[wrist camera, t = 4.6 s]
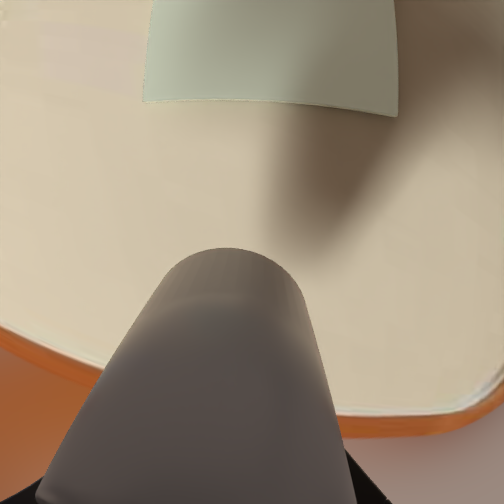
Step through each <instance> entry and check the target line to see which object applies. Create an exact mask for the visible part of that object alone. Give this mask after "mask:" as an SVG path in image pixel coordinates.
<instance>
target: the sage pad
mask: <svg viewBox="0 0 504 504" xmlns="http://www.w3.org/2000/svg"><path fill="white" fill-rule="evenodd" d="M208 100H229V101H263V102H280V103H293V104H305V105H315V106H324V107H332V108H340V109H347V110H354V111H360V112H366V113H372V114H378V115H383V116H389V117H398V49H397V31H396V19H395V8H394V0H153V6H152V13H151V20H150V27H149V35H148V43H147V53H146V63H145V74H144V87H143V102H145V103H158V102H175V101H208Z"/></svg>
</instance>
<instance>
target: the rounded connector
mask: <svg viewBox="0 0 504 504" xmlns="http://www.w3.org/2000/svg"><path fill="white" fill-rule="evenodd" d="M35 497H36V501H37V503H38V504H357V501H356V497H355V492H354V488H353V483H352V479H351V474H350V470H349V466H348V462H347V457H346V453H345V449H344V446H343V441H342V437H341V433H340V429H339V425H338V421H337V417H336V413H335V409H334V405H333V401H332V397H331V393H330V390H329V386H328V382H327V378H326V375H325V371H324V367H323V363H322V360H321V356H320V352H319V349H318V345H317V342H316V338H315V335H314V331H313V328H312V324H311V320H310V317H309V314H308V310H307V307H306V303H305V300H304V297H303V295H302V292H301V290H300V288H299V287H298V285H297V283H296V282H295V281H294V279H293V278H292V277H291V276H290V274H289V273H287V272H286V271H285V270H284V269H283V268H282V267H281V266H279V265H278V264H277V263H275V262H274V261H272V260H270V259H268V258H266V257H265V256H262V255H260V254H257V253H254V252H251V251H247V250H243V249H235V248H216V249H210V250H205V251H202V252H198V253H196V254H193V255H191V256H189V257H187V258H185V259H184V260H182V261H180V262H179V263H178V264H176V265H175V266H174V267H173V268H172V269H171V270H170V271H169V272H168V273H167V274H166V276H165V277H164V278H163V280H162V281H161V283H160V284H159V286H158V287H157V289H156V290H155V292H154V293H153V295H152V296H151V298H150V299H149V301H148V302H147V304H146V305H145V307H144V308H143V310H142V311H141V313H140V314H139V316H138V317H137V319H136V320H135V322H134V323H133V325H132V326H131V328H130V329H129V331H128V332H127V334H126V336H125V337H124V339H123V340H122V342H121V343H120V345H119V347H118V348H117V350H116V351H115V353H114V354H113V356H112V358H111V359H110V361H109V363H108V364H107V366H106V367H105V369H104V371H103V372H102V374H101V376H100V377H99V379H98V380H97V382H96V384H95V385H94V387H93V389H92V390H91V392H90V394H89V396H88V397H87V399H86V401H85V402H84V404H83V406H82V407H81V409H80V411H79V413H78V415H77V416H76V418H75V420H74V422H73V423H72V425H71V427H70V429H69V430H68V432H67V434H66V436H65V438H64V439H63V441H62V443H61V445H60V447H59V449H58V450H57V452H56V454H55V456H54V458H53V460H52V462H51V464H50V465H49V467H48V469H47V471H46V473H45V475H44V477H43V479H42V481H41V483H40V485H39V487H38V489H37V491H36V494H35Z"/></svg>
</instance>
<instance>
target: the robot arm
mask: <svg viewBox="0 0 504 504" xmlns="http://www.w3.org/2000/svg"><path fill="white" fill-rule="evenodd" d="M344 449H345V448H344ZM345 453H346V457H347V462H348V466H349V470H350V474H351V479H352V483H353V488H354V492H355V497H356V501H357V504H392V503H391V502H390V500H386V499H387V497H386V496H385V495H384V494H383V493H382V492H381V490H380V489H379V488H378V487H377V486H376V485H375V484H374V483H373V481H372V480H371V479H370V478H369V477H368V476H367V474H366V473H365V472H364V471H363V470H362V469H361V467H360V466H359V465H358V464H357V463H356V461H355V460H354V459H353V458H352V457H351V456H350V455H349V453H348V452H347V451H346V450H345ZM43 477H44V476H43ZM43 477H41V478H40V479H39V480H37V481H36V482H34V483H33V484H31V485H30V486H28V487H27V488H25V489H23V490H22V491H20V492H18V493H16V494H15V495H13V496H11V497H9V498H7V499H5V500H3V501H1V502H0V504H38V503H37V501H36V497H35V494H36V491H37V489H38V487H39V485H40V483H41V481H42V479H43Z"/></svg>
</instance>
